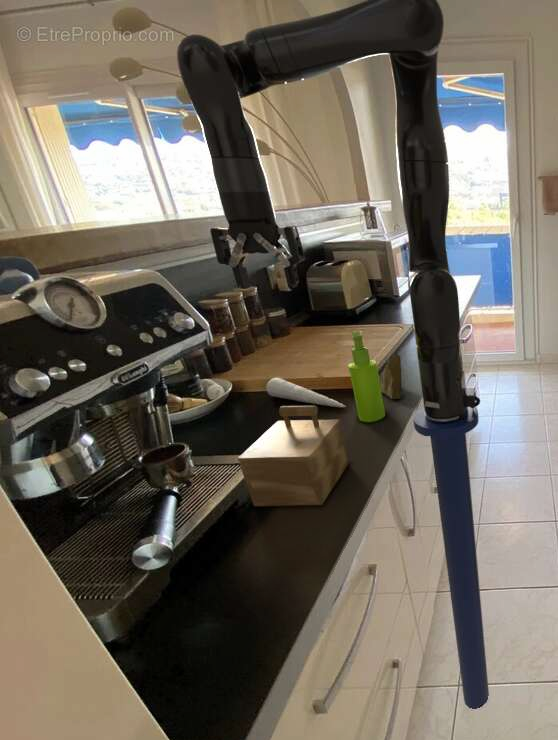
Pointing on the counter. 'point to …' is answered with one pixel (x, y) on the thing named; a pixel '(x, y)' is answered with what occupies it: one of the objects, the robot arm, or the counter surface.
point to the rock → (392, 378)
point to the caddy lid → (291, 437)
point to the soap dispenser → (365, 382)
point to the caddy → (297, 476)
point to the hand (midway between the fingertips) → (269, 287)
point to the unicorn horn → (297, 393)
